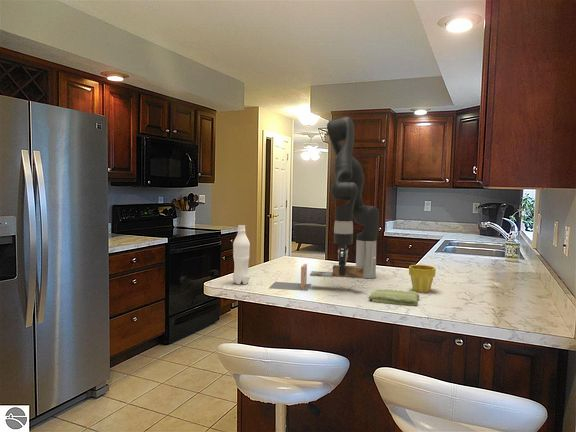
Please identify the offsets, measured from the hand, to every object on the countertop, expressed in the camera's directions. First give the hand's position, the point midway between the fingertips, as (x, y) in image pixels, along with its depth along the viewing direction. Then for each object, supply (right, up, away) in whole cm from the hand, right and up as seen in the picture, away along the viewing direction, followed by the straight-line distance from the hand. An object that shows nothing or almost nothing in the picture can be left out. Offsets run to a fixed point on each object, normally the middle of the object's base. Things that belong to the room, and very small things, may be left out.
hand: (342, 274), depth 170 cm
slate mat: (-21, -6, +5) cm, 22 cm away
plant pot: (+33, -7, +3) cm, 34 cm away
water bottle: (-42, -6, +11) cm, 44 cm away
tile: (-15, -6, +4) cm, 17 cm away
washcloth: (+18, -9, -12) cm, 23 cm away
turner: (-2, -1, 0) cm, 2 cm away
